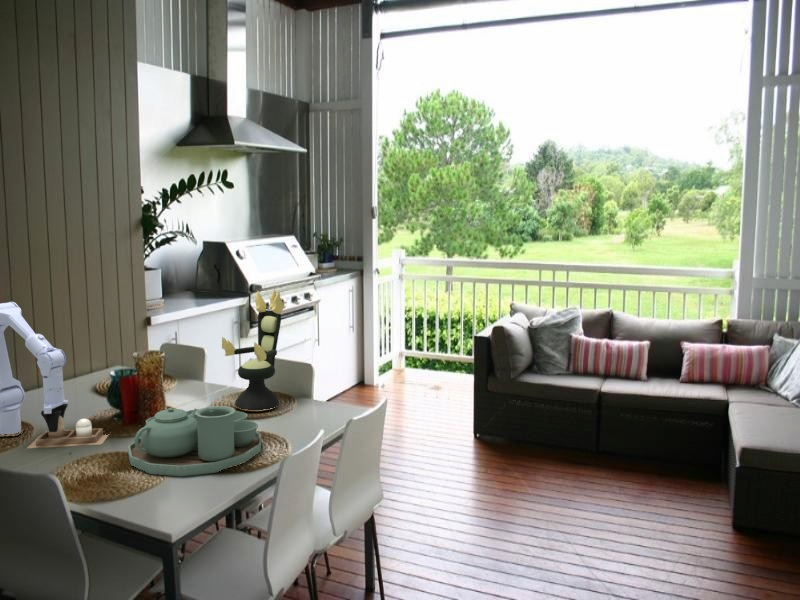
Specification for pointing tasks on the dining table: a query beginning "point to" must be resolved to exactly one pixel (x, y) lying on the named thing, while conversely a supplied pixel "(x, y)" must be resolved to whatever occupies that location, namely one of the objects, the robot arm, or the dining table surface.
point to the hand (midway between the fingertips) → (55, 429)
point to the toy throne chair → (260, 356)
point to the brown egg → (60, 429)
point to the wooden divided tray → (69, 439)
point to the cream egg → (83, 428)
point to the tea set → (194, 441)
